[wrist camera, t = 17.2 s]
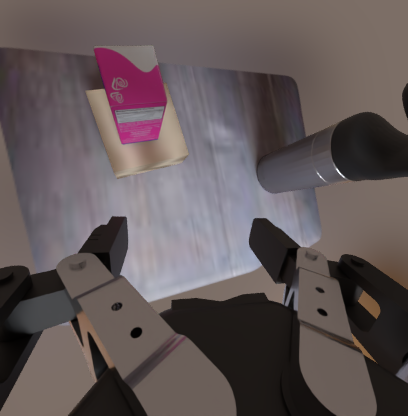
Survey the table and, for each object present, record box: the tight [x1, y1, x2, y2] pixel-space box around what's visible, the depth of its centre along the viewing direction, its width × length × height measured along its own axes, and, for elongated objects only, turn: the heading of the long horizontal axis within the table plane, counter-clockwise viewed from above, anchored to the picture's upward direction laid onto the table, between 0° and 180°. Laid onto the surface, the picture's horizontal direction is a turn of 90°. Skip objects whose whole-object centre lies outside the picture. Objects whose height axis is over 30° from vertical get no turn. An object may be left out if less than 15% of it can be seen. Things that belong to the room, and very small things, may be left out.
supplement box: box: [94, 45, 167, 144], centre depth 24 cm, size 6×6×12 cm
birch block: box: [86, 83, 189, 179], centre depth 32 cm, size 12×12×6 cm
